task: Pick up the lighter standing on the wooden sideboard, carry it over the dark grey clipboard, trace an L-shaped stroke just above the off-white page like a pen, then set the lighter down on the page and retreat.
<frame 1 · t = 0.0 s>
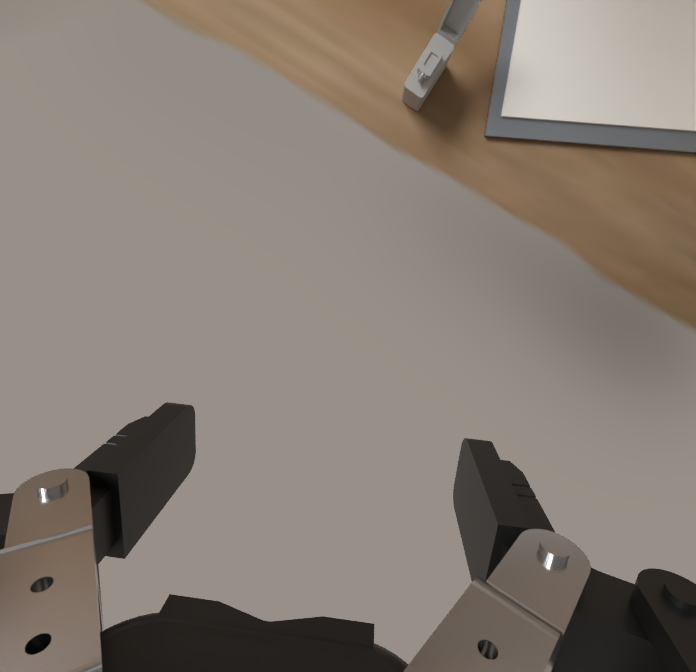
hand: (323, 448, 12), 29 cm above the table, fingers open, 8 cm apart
lighter: (433, 67, 35), on the table
clipboard: (629, 36, 33), on the table
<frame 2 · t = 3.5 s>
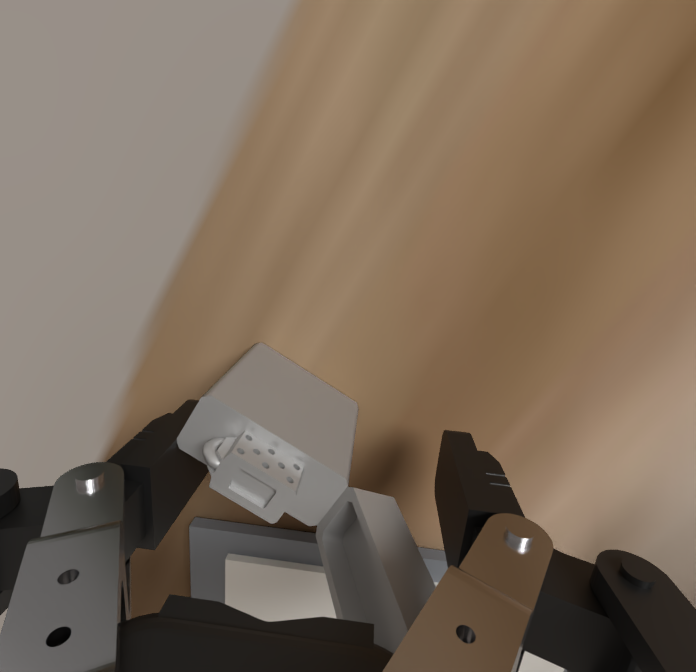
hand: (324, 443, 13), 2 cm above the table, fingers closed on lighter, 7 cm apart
lighter: (334, 412, 15), on the table, touching gripper
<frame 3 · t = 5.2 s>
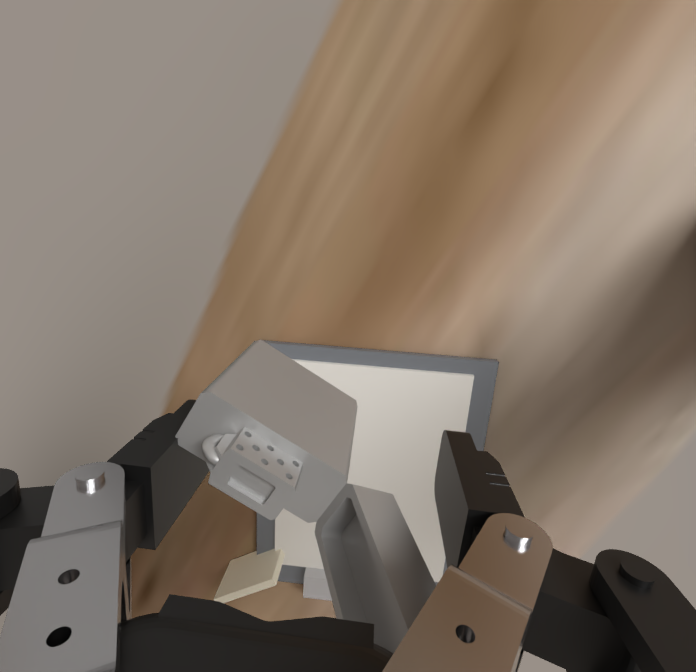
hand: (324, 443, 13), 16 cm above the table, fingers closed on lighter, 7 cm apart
lighter: (333, 410, 15), point 14 cm above the table, touching gripper
clipboard: (365, 477, 31), on the table
cream rectangular slab: (258, 553, 34), on the table
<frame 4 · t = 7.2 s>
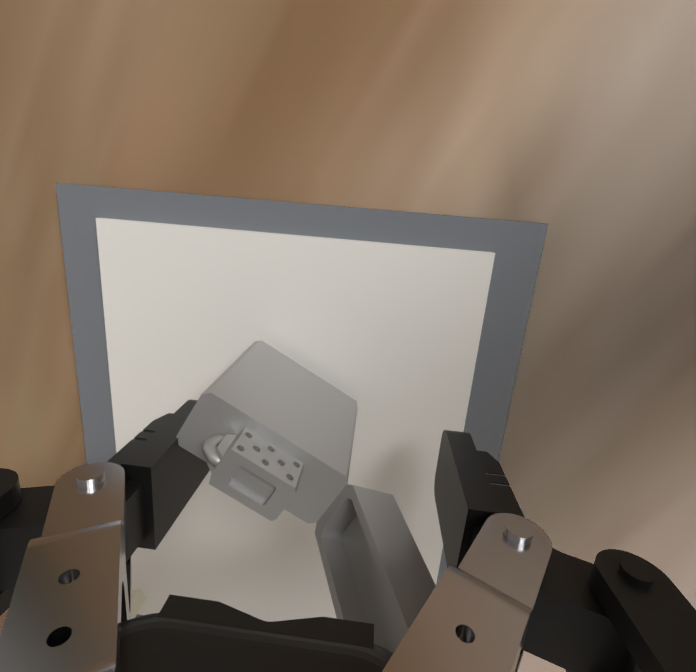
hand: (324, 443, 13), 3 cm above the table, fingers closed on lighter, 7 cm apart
lighter: (333, 410, 15), point 1 cm above the table, touching gripper
clipboard: (284, 464, 17), on the table
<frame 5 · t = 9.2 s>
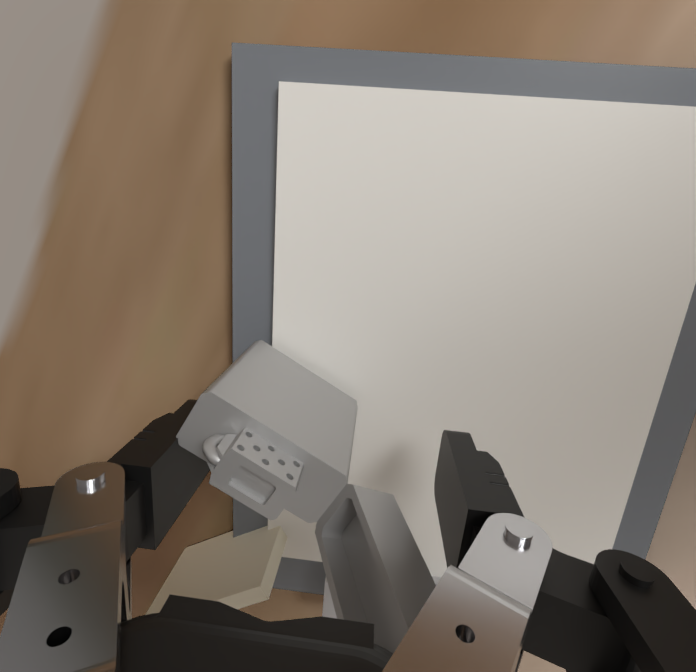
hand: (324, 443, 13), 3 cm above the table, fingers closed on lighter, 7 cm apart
lighter: (333, 410, 15), point 1 cm above the table, touching gripper
clipboard: (454, 381, 15), on the table
cream rectangular slab: (237, 535, 18), on the table
when the fingers open (3 cm above the table, at t = 10.8 s): lighter stays where it is, resting on clipboard.
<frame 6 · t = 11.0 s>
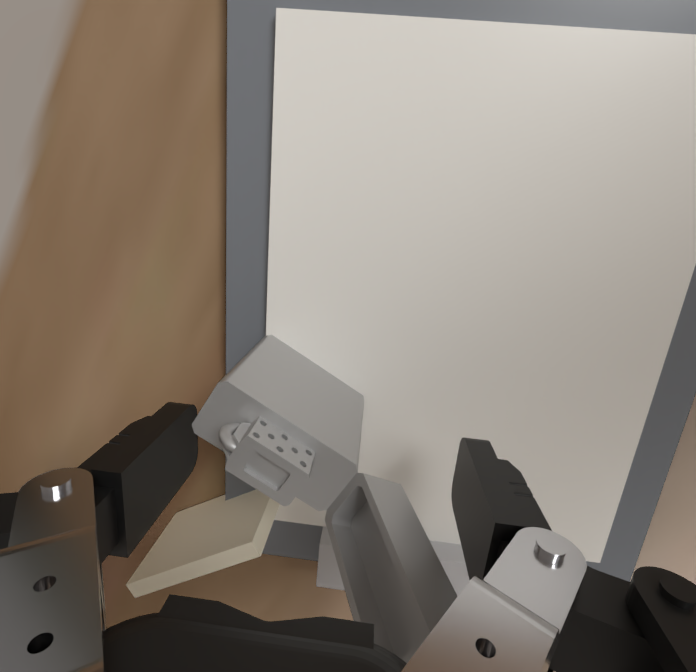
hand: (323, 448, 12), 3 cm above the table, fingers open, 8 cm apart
lighter: (340, 404, 15), point 1 cm above the table, touching clipboard
clipboard: (455, 335, 15), on the table
cream rectangular slab: (229, 499, 17), on the table
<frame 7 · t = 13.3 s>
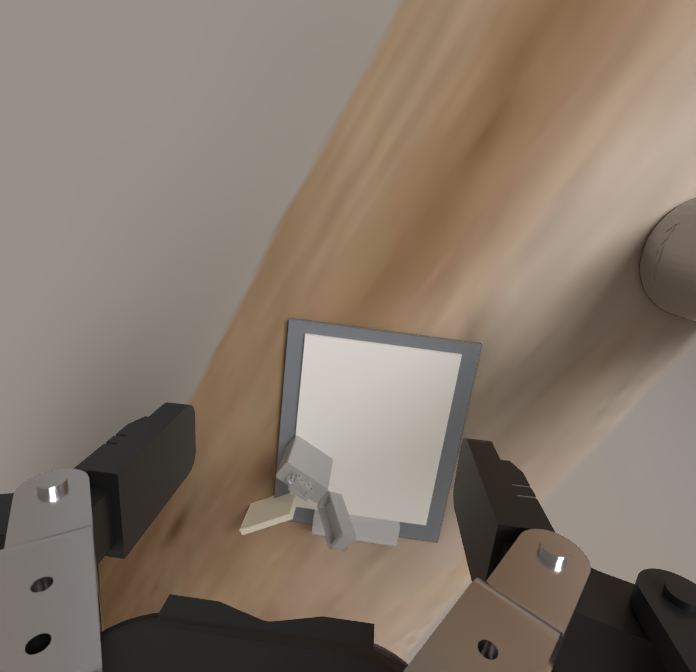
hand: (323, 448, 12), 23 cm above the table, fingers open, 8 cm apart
lighter: (323, 461, 38), point 1 cm above the table, touching clipboard
clipboard: (368, 436, 38), on the table
cream rectangular slab: (275, 497, 40), on the table
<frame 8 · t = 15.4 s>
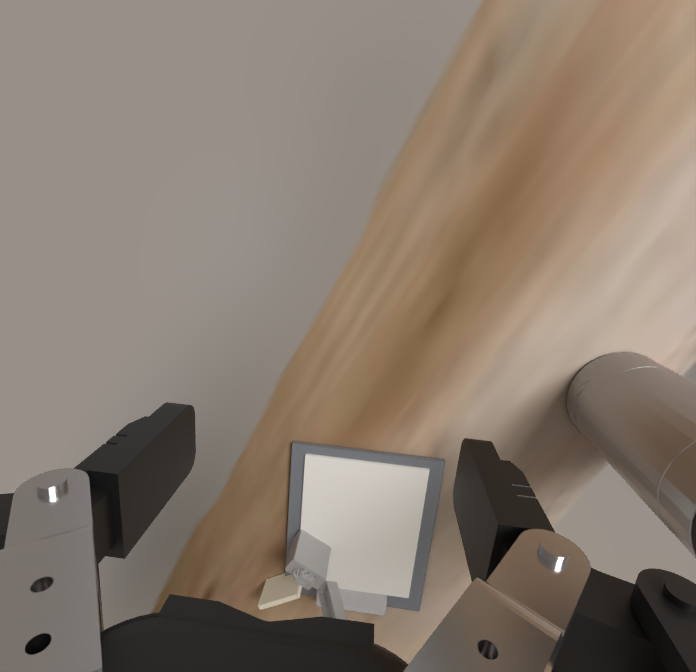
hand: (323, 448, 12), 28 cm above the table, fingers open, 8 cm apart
lighter: (323, 548, 47), point 1 cm above the table, touching clipboard
clipboard: (359, 528, 47), on the table
cream rectangular slab: (285, 575, 50), on the table
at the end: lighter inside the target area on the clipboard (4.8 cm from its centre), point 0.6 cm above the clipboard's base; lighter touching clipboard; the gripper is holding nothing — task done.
